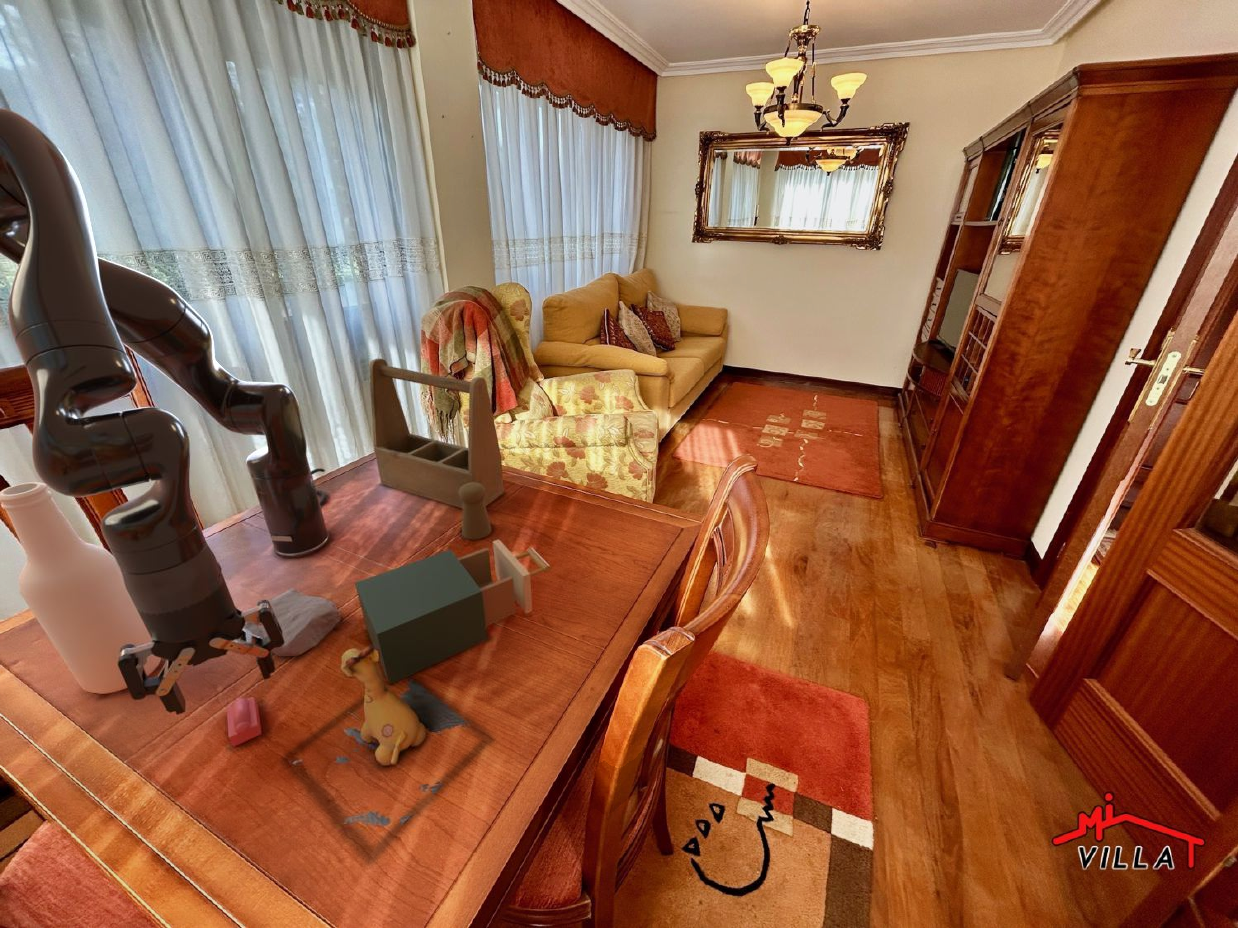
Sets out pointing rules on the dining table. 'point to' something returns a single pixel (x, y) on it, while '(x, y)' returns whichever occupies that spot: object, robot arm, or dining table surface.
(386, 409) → the caddy
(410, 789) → the dining table surface
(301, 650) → the stone block
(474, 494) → the wooden peg doll
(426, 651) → the cabinet
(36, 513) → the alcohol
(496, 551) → the drawer
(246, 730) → the red ridged block
